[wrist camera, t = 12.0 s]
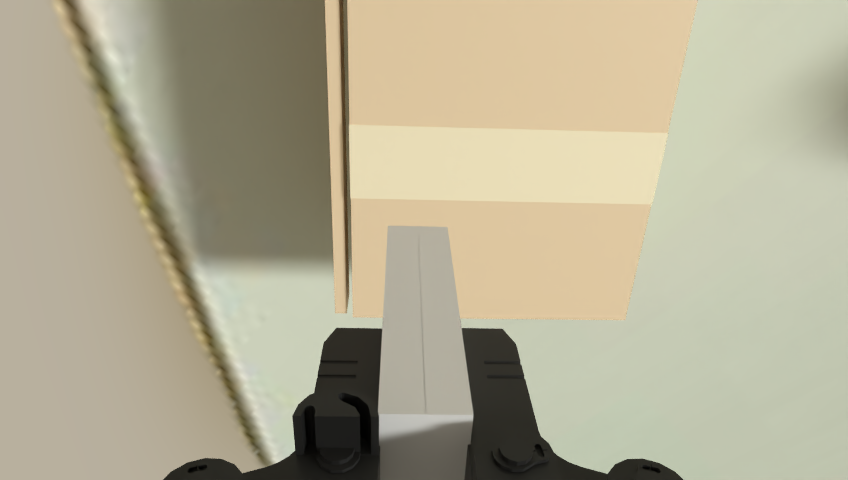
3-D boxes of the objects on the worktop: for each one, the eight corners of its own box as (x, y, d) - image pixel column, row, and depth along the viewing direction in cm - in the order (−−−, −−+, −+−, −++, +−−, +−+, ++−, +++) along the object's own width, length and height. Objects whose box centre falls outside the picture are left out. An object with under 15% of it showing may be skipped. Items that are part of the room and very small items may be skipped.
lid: (328, -47, 22) (321, -44, 20) (681, -32, 23) (705, -29, 21) (338, 293, 29) (334, 317, 27) (612, 297, 29) (625, 320, 28)
